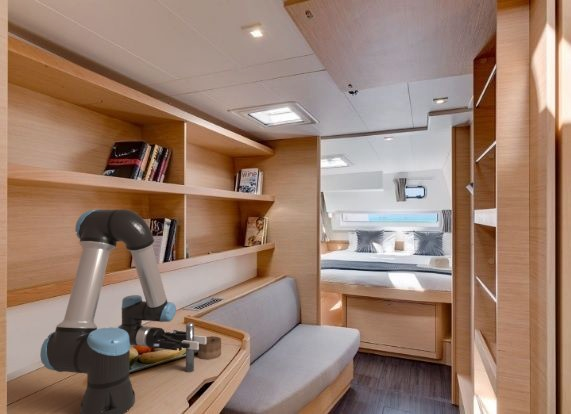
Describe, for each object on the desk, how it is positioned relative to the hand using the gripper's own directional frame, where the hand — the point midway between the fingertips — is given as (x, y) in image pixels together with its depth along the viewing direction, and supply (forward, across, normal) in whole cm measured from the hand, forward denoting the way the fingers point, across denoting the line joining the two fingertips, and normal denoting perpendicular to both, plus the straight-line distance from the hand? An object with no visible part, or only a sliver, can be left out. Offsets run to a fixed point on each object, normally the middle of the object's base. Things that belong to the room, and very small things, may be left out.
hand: (201, 343), depth 124 cm
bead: (-5, -15, -11) cm, 19 cm away
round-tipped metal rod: (-5, 0, -11) cm, 12 cm away
